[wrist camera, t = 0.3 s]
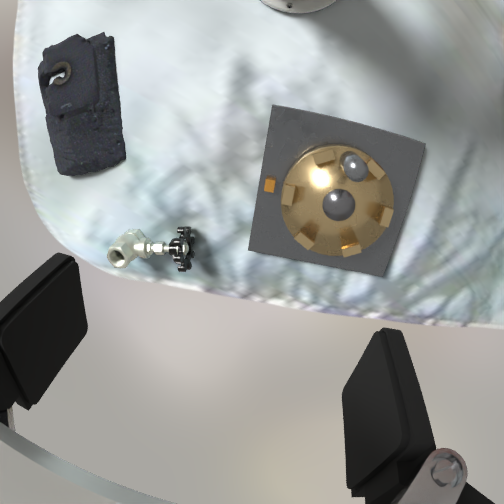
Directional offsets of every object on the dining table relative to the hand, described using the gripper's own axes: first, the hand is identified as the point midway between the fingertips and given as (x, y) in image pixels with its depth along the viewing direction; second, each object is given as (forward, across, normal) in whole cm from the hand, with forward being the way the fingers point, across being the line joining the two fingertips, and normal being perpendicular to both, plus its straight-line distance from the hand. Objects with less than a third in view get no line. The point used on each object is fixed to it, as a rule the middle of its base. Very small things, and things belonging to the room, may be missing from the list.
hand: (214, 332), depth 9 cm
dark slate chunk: (+35, +30, -3) cm, 47 cm away
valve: (+35, +15, +17) cm, 42 cm away
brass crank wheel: (+32, -9, +4) cm, 34 cm away
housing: (+34, -9, +4) cm, 36 cm away
